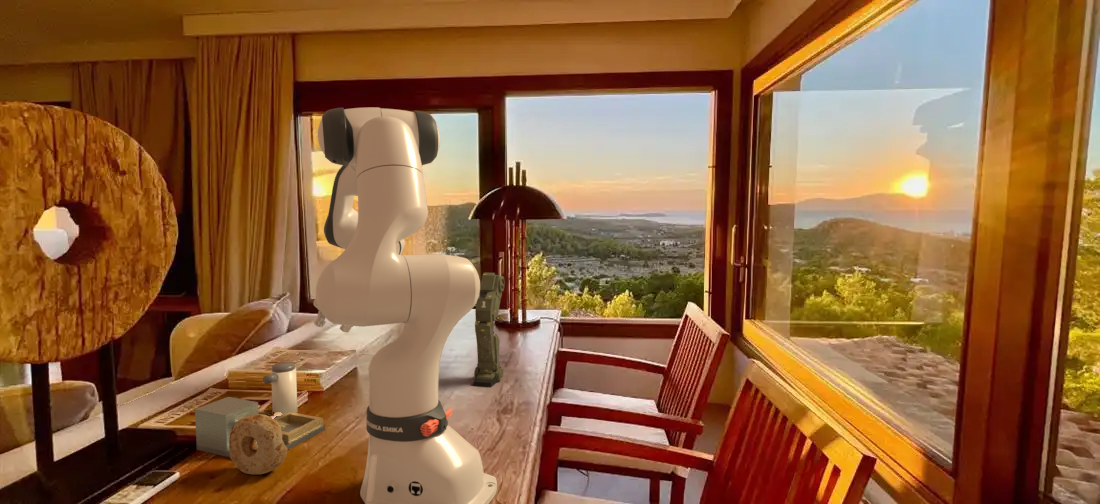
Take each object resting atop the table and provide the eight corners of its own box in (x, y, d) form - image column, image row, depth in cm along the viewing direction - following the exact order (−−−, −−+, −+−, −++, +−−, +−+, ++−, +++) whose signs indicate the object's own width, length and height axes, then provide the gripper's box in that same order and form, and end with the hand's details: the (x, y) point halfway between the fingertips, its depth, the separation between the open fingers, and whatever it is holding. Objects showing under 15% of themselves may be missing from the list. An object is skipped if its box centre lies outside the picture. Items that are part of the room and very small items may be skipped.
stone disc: (224, 473, 94) (222, 417, 93) (241, 463, 98) (239, 410, 97) (274, 481, 91) (272, 424, 90) (290, 471, 95) (288, 416, 94)
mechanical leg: (490, 389, 135) (499, 270, 140) (463, 386, 137) (472, 269, 141) (505, 384, 149) (512, 276, 153) (480, 382, 150) (488, 275, 154)
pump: (302, 410, 122) (300, 363, 121) (276, 422, 116) (274, 372, 115) (285, 407, 124) (283, 360, 123) (259, 418, 117) (257, 369, 116)
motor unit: (325, 429, 112) (324, 392, 111) (259, 464, 97) (258, 421, 96) (267, 418, 118) (265, 383, 117) (196, 449, 103) (194, 409, 102)
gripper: (327, 272, 141) (294, 315, 133) (382, 279, 130) (350, 326, 123) (342, 286, 145) (311, 329, 137) (396, 294, 135) (366, 341, 127)
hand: (330, 328), depth 130 cm, fingers open, 8 cm apart
